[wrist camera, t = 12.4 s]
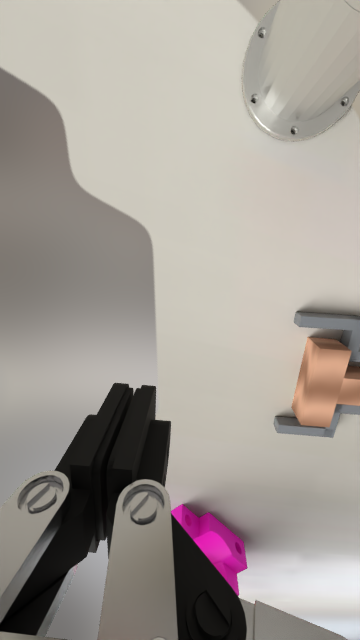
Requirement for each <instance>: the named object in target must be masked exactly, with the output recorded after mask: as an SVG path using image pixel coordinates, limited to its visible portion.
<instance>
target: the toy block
mask: <svg viewBox="0 0 360 640" xmlns="http://www.w3.org/2000/svg"><path fill="white" fill-rule="evenodd" d="M171 513H172V515H173V516H174V517H175V518H176V520H177V521H178V522H179V523H180V524H181V526H182V527H183V528H184V529H185V531H186V532H187V533H188V534H189V536H190V537H191V538H192V539H193V540H194V542H195V543H196V544H197V545H198V547H199V548H200V549H201V550H202V551H203V553H204V554H205V555H206V556H207V558H208V559H209V560H210V561H211V563H212V564H213V565H214V566H215V567H216V569H217V570H218V571H219V572H220V574H221V575H222V576H223V577H224V578H225V580H226V581H227V582H228V583H229V585H230V586H231V587H232V588H233V590H234V591H235V593H236V594H237V596H238V595H239V590H238V581H237V573H239V572H241V571H243V570H245V569H247V562H246V556H245V549H244V542H243V541H242V540H241V539H240V538H238V537H237V536H236V535H235V534H234V533H233V532H231V531H230V530H229V529H228V528H227V527H226V526H224V525H223V524H222V523H221V522H220V521H219V520H217V519H216V518H215V517H214V516H213V515H212V514H210V513H209V512H208V513H206V514H205V515H203V516H201V517H200V518H198V517H197V516H196V515H195V514H194V513H192V512H191V511H190V510H189V509H188V508H186V507H185V506H184V505H183V504H182V505H180V506H178V507H177V508H175V509H174V510H172V511H171Z"/></svg>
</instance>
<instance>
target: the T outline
mask: <svg viewBox="0 0 360 640" xmlns="http://www.w3.org/2000/svg"><path fill="white" fill-rule="evenodd" d="M294 323H295V324H297V325H298V326H299V327H308V328H323V329H338V330H343V334H342V337H341V341H340V343H342V344H343V345H344V346H346V347H347V348H348V349H350V350H351V351H352V352H351V355H350V359H349V361H352V362H360V316H351V315H336V314H320V313H305V312H296V314H295V319H294ZM340 413H344V414H357V415H360V406H356V405H345V404H336V407H335V410H334V414H333V417H332V420H331V424H330V427H318V426H307V425H301V424H300V422H299V420H298V418H289V417H277V416H275V420H274V426H275V429H276V431H277V433H284V434H296V435H308V436H320V437H332V438H333V437H334V433H335V430H336V426H337V423H338V419H339V416H340Z"/></svg>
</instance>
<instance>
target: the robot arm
mask: <svg viewBox="0 0 360 640" xmlns="http://www.w3.org/2000/svg"><path fill="white" fill-rule="evenodd" d="M259 36H262V38H260V37H259ZM242 91H243V96H244V100H245V104H246V107H247V109H248V111H249V114H250V116H251V117H252V119H253V120H254V122H255V123H256V124H257V125H258V126H259V127H260V128H261V129H262V130H263V131H264V132H265V133H267V134H269V135H270V136H272V137H274V138H277V139H280V140H284V141H300V140H306V139H309V138H312V137H315V136H317V135H318V134H320V133H322V132H324V131H325V130H327V129H328V128H329V127H331V126H332V125H333V124H335V123H336V122H337V121H338V120H339V119H340V118H341V117H342V116H343V115H344V114H345V113H346V111H347V110H348V109H349V108H350V106H351V105H352V103H353V101H354V100H355V98H356V96H357V94H358V93H359V91H360V0H280V1H278V2H277V3H276V4H275V5H274V6H273V7H272V8H271V9H270V10H269V11H268V12H267V13H266V14H265V15H264V17H263V18H262V20H261V21H260V22H259V24H258V25H257V27H256V29H255V31H254V33H253V35H252V37H251V39H250V42H249V45H248V48H247V51H246V55H245V59H244V63H243V71H242ZM252 100H254V101H255V103H252V102H251V101H252ZM341 103H342V104H343V106H342V105H341ZM291 131H294V135H293V134H291ZM155 404H156V387H155V386H147V385H142V387H141V389H140V388H137V389H136V391H135V393H134V396H133V388H129V385H128V384H121V383H114V384H113V386H112V388H111V390H110V392H109V393H108V395H107V397H106V399H105V401H104V403H103V404H102V406H101V408H100V410H99V412H98V414H97V415H88V416H87V418H86V419H85V421H84V422H83V424H82V426H81V427H80V429H79V431H78V432H77V434H76V436H75V437H74V439H73V441H72V442H71V444H70V446H69V447H68V449H67V451H66V453H65V454H64V456H63V457H62V459H61V461H60V463H59V464H58V466H57V467H56V469H55V471H45V472H41V473H38V474H36V475H34V476H32V477H30V478H29V479H27V480H26V481H25V482H24V483H22V484H21V485H20V487H18V488H17V489H16V491H15V492H14V493H13V494H12V495H11V496H10V498H9V499H8V500H7V501H6V502H5V503H4V504H3V505H2V507H1V508H0V640H66V639H58V638H49V637H45V635H46V633H47V631H48V629H49V627H50V625H51V623H52V621H53V619H54V616H55V614H56V612H57V610H58V608H59V606H60V604H61V602H62V600H63V598H64V596H65V594H66V592H67V590H68V587H69V585H70V583H71V581H72V579H73V577H74V575H75V572H76V569H77V564H78V563H79V562H80V561H82V560H83V559H84V558H86V557H87V554H88V552H93V553H96V551H97V548H98V545H99V542H100V540H105V539H106V537H107V543H108V559H109V561H108V568H107V576H106V582H105V589H104V596H103V603H102V610H101V617H100V624H99V632H98V638H97V640H347V639H346V638H344V637H343V636H341V635H339V634H336V633H334V632H332V631H329V630H327V629H324V628H322V627H320V626H317V625H315V624H312V623H310V622H307V621H305V620H303V619H300V618H298V617H295V616H293V615H291V614H288V613H286V612H283V611H281V610H279V609H276V608H274V607H271V606H269V605H266V604H264V603H262V602H259V601H257V600H256V601H255V604H252V603H250V602H248V601H245V600H243V599H240V598H238V596H237V594H236V593H235V591H234V590H233V588H232V587H231V586H230V585H229V583H228V582H227V581H226V580H225V578H224V577H223V576H222V575H221V574H220V572H219V571H218V570H217V569H216V567H215V566H214V565H213V564H212V563H211V561H210V560H209V559H208V558H207V556H206V555H205V554H204V553H203V551H202V550H201V549H200V548H199V547H198V545H197V544H196V543H195V542H194V540H193V539H192V538H191V537H190V536H189V534H188V533H187V532H186V531H185V529H184V528H183V527H182V526H181V524H180V523H179V522H178V521H177V520H176V518H175V517H174V516H173V515H172V513H171V505H170V498H169V494H168V492H167V491H166V489H165V482H166V474H167V466H168V458H169V447H170V431H171V421H162V420H155V407H156V405H155Z"/></svg>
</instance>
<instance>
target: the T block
mask: <svg viewBox="0 0 360 640" xmlns="http://www.w3.org/2000/svg"><path fill="white" fill-rule="evenodd" d="M351 352H352V351H351V350H350V349H348V348H347V347H346V346H344V345H343V344H342V343H340V342H339V341H338V340H336V339H326V338H313V337H308V338H307V342H306V347H305V351H304V355H303V360H302V364H301V368H300V373H299V377H298V381H297V386H296V390H295V394H294V399H293V403H292V409H293V411H294V413H295V415H296V417H297V418H298V420H299V422H300V424H301V425H307V426H318V427H330V424H331V420H332V417H333V414H334V410H335V407H336V404H345V405H356V406H360V367H357V366H348V362H349V359H350V355H351Z"/></svg>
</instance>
